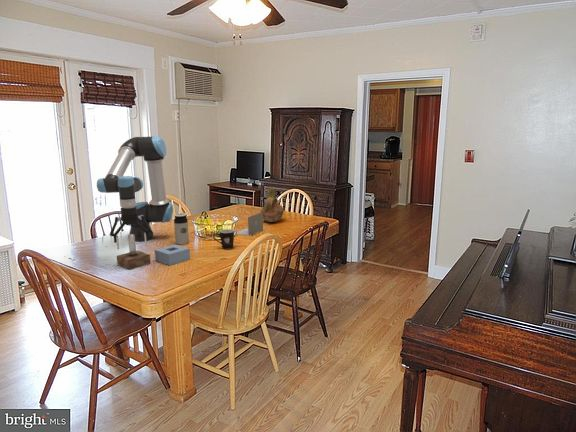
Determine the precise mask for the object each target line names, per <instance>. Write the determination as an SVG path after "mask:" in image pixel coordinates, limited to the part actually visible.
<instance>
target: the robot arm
mask: <svg viewBox="0 0 576 432" xmlns="http://www.w3.org/2000/svg"><path fill="white" fill-rule="evenodd" d="M117 150H118V151H117V156H116V158H115V159H114V162H113V163H112V165H111V167H110V168H109V170H108V172H107V174H106V175H105V177H102V178H98V179H97V181H96V189H97V191H98V192H99V193H105V194H108V193H109V194H110V193H118V194H119V205H120V217H119V216H115V217H114V222H113V226H112V228H111V230H110V232H109V236H110V237H113V242H114V243H115V244H116V248H117V250H119V249H120V242H119V236H118V234H120V232H121V230H122V229H123V228H124V227H125V226H130V229H129V234H135V242H144V245H145V247H148V245H147V243H148V242H147V241H149V240H153V238H154V237H155V236H154V232H153V230H152V227H151V225H150V224H151V223H163V224H164V223H169V222H170V221H172V218H173V216H174V214H173V213H174V207H173V204H172V203H170V200H169V199H167V196H166V195H167V194H166V187H165V186H166V185H165V179H164V171H163V169H164V168H163V161H164V160H165V157H166V156H167V146H166V143H165V141H164V139H163V137H160V136H154V135H153V136H134V137H131V138H130V139H127V140H125V142H123V143H122V145H120V147H119V148H118V149H117ZM136 157H139V158H140V157H142V158H143V160H144V162H146V165H147V172H148V173H147V174H148V180H149V188H150V189H149V190H150V195H151V200H150V202H148V201H139V202H137V198H136V193H137V192H140V191H142V189H143V188H144V181H143V180H142V179H141V178H140V177H138V176H135V177H134V176H131V175H126V176H124V175H125V173H126V172H127V169H128V167H129V165H130V164H131V162H132V161H133V160H134V159H135V158H136ZM120 221H121V222H122V223H121V224H120V225H119V227H117V224H118V222H120ZM116 227H117V229H116ZM115 229H116V231H115ZM114 231H115V232H114ZM129 234H128V235H129Z"/></svg>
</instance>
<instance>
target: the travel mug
mask: <svg viewBox="0 0 576 432" xmlns="http://www.w3.org/2000/svg"><path fill="white" fill-rule="evenodd" d="M187 214H188V213H184V212H183V213H182V212H181V213H179V212H178V213H175V214H173V216H174V220H173V224H174V236H175V237H174V239H175V244H176V245H179V246H183V245H187V244H189V243H190V238H189V236H190V235H189V221H188V217H187Z"/></svg>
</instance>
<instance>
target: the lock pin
mask: <svg viewBox="0 0 576 432" xmlns="http://www.w3.org/2000/svg"><path fill="white" fill-rule="evenodd" d="M127 239H128V240H127V241H128V249H129V250H128V251H129V252H130V257H133V256H137V255H136V251H137V247H136V241H135V234H128V235H127Z"/></svg>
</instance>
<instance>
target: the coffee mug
mask: <svg viewBox="0 0 576 432" xmlns="http://www.w3.org/2000/svg"><path fill="white" fill-rule="evenodd" d="M234 233H235V230H234V229H230V228H228V229H220V230H219V232H218V233H214V234H213V235H212V236H213V237H212V238H213V240H215V241H216V242H218V243H219V244H221V248H222V249H223V250H230V249H234V238H235V234H234ZM216 235H217V236H219V238H220V240H218V239H216V238H215V236H216Z"/></svg>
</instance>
